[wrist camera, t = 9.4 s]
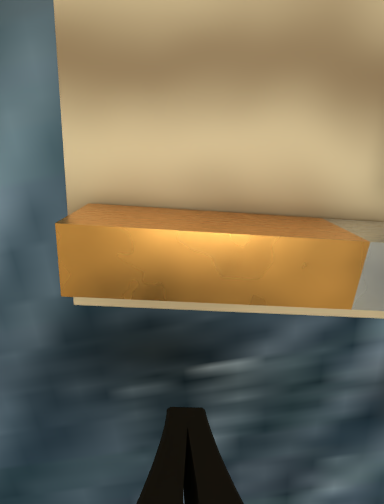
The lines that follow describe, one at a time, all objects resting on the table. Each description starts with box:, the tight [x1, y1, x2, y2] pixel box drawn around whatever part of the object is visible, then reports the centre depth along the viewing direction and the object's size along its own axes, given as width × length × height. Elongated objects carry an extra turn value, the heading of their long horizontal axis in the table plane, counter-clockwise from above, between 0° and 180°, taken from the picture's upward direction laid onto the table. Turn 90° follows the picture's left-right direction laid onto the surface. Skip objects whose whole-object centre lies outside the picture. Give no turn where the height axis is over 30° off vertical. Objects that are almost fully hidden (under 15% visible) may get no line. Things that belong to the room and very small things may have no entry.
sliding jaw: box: [55, 203, 384, 311], centre depth 12 cm, size 2×20×4 cm, turn 86°
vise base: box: [54, 0, 384, 318], centre depth 10 cm, size 20×23×5 cm
